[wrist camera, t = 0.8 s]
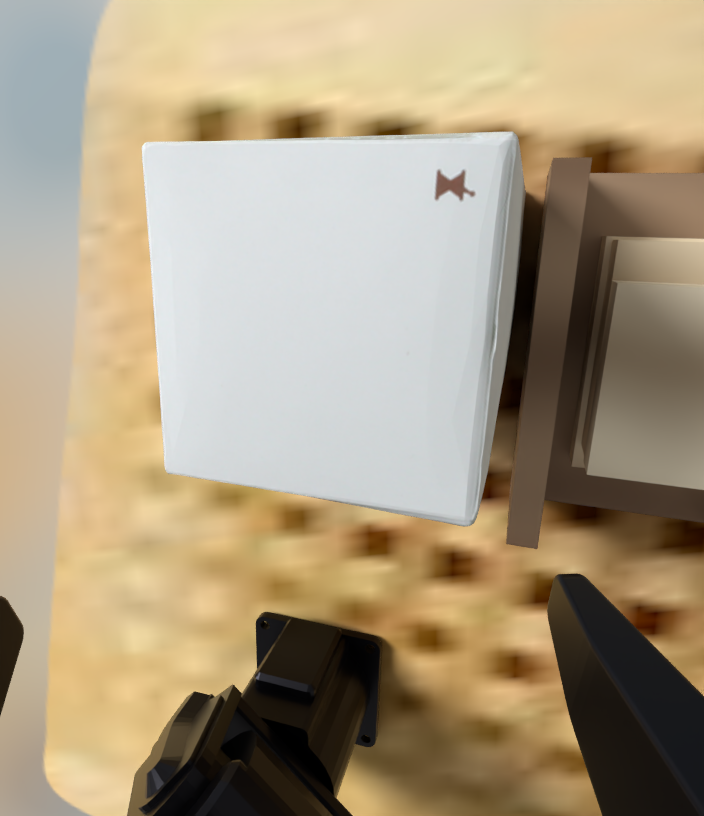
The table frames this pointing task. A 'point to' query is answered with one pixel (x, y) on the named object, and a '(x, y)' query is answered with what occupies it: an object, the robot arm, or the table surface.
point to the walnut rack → (567, 335)
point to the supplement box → (336, 312)
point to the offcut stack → (644, 365)
